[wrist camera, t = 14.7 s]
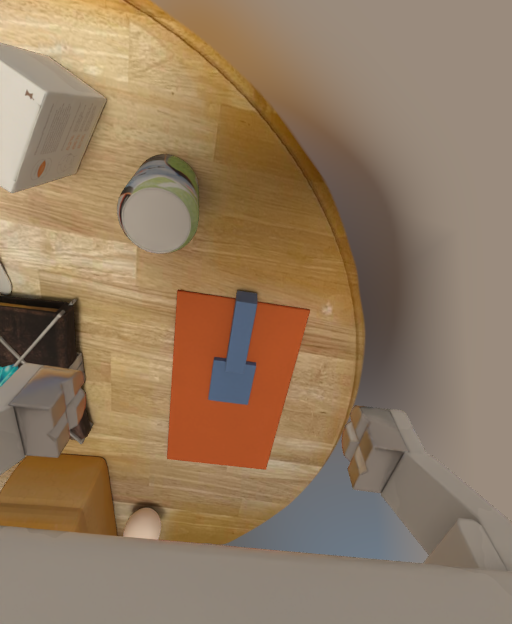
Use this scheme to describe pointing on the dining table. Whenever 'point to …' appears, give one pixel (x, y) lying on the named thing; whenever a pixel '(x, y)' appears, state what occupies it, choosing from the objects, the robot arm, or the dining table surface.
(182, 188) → the beverage can
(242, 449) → the flat orange board
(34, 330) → the book
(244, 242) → the dining table surface
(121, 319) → the dining table surface
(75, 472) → the bread
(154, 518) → the egg
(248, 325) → the blue stepped bar
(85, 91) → the small box
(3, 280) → the spoon
